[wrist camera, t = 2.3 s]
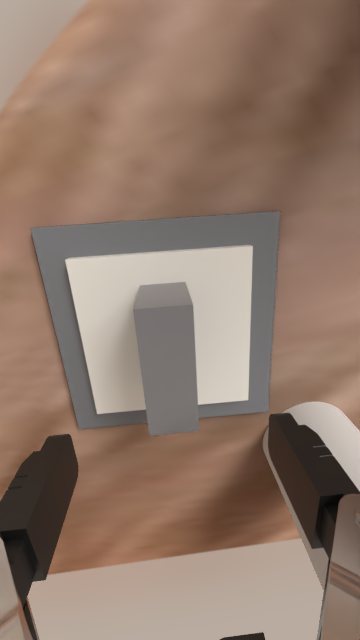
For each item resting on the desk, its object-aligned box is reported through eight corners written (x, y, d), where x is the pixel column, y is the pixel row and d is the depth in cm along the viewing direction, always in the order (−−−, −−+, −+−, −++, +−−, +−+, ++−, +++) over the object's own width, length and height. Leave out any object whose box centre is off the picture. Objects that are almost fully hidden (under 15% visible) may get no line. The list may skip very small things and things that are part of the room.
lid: (68, 257, 18) (30, 276, 13) (249, 244, 19) (284, 257, 13) (99, 407, 23) (79, 468, 17) (245, 394, 23) (271, 449, 18)
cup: (285, 482, 28) (367, 661, 17) (247, 430, 25) (315, 602, 14) (360, 445, 27) (503, 610, 16) (329, 386, 24) (474, 535, 13)
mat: (34, 227, 18) (30, 227, 18) (276, 211, 19) (280, 211, 18) (81, 424, 24) (79, 429, 23) (265, 407, 24) (268, 411, 24)
